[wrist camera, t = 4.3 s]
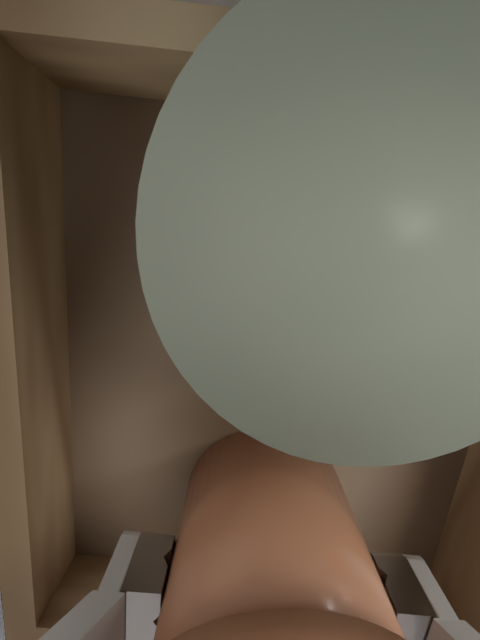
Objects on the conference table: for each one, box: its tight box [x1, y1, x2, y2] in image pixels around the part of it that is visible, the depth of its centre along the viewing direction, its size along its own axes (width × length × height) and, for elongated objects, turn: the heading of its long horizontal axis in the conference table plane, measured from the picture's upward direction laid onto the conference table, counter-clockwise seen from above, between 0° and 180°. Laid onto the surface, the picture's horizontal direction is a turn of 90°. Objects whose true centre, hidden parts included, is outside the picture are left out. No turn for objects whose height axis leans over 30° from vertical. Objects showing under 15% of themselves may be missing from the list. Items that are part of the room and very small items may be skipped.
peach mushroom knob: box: [154, 431, 406, 640], centre depth 8 cm, size 6×6×7 cm
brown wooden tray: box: [0, 0, 480, 640], centre depth 10 cm, size 16×18×3 cm
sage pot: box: [135, 0, 480, 467], centre depth 6 cm, size 6×6×6 cm
